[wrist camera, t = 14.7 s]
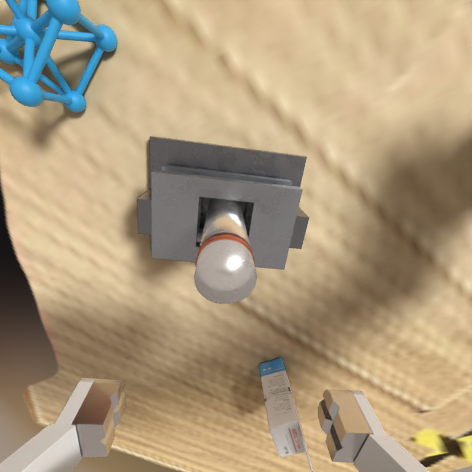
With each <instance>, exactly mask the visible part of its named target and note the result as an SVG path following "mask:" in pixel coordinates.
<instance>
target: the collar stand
mask: <svg viewBox="0 0 472 472" xmlns="http://www.w3.org/2000/svg"><path fill="white" fill-rule="evenodd" d="M306 158H307V157H305V156H299V155H292V154H284V153H276V152H269V151H261V150H254V149H246V148H238V147H231V146H223V145H216V144H208V143H200V142H193V141H185V140H177V139H170V138H162V137H155V136H150V189H149V190H148V191H146V192H145V193H144V194H143V195H141V196H140V197H139V198H138V199H137V210H138V233H139V234H149V235H150V243H151V253H152V258H156V259H168V260H179V261H191V262H196V258H197V253H198V250H199V247H200V244H201V239H202V234H203V229H204V224H205V219H206V214H207V210H208V205H209V201H210V199H211V198H217V199H226V200H235V201H239V202H240V205H241V209H242V214H243V218H244V222H245V227H246V231H247V235H248V239H249V244H250V246H251V248H252V251H253V255H254V260H255V267H260V268H272V269H284V268H285V263H286V259H287V255H288V250H289V248H297V249H301V248H302V244H303V240H304V236H305V232H306V228H307V224H308V220H309V217H308V216H307V215H306V214H305V213H304V212H303V211H302V210H301V209H300V208H299V203H300V198H301V194H302V189H301V188H300V184H301V180H302V176H303V171H304V167H305V162H306Z"/></svg>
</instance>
